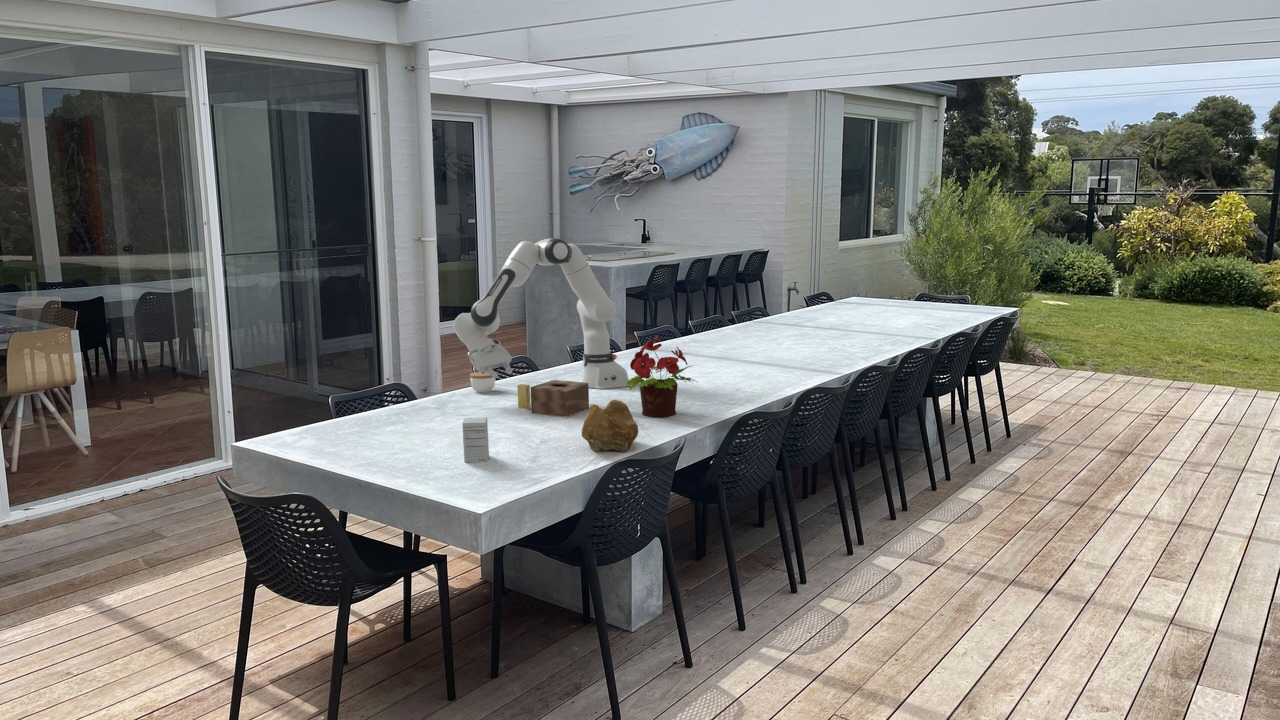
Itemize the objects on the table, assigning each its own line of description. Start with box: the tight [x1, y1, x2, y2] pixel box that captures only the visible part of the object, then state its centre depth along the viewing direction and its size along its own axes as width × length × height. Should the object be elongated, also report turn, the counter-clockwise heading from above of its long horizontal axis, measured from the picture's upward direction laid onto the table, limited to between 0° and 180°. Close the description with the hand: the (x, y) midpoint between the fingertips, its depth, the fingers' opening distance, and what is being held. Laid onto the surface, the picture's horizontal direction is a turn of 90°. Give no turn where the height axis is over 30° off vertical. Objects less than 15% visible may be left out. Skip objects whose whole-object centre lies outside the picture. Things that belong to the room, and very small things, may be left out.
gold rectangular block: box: [516, 383, 531, 410], centre depth 371 cm, size 4×2×9 cm, turn 63°
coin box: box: [530, 379, 590, 418], centre depth 364 cm, size 16×16×10 cm
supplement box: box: [462, 416, 490, 463], centre depth 298 cm, size 7×7×13 cm
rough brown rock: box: [581, 399, 639, 453], centre depth 308 cm, size 23×17×15 cm
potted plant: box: [626, 335, 700, 419], centre depth 352 cm, size 30×27×30 cm
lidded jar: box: [469, 371, 496, 394], centre depth 404 cm, size 11×11×9 cm
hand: (503, 374), depth 374 cm, fingers open, 8 cm apart
